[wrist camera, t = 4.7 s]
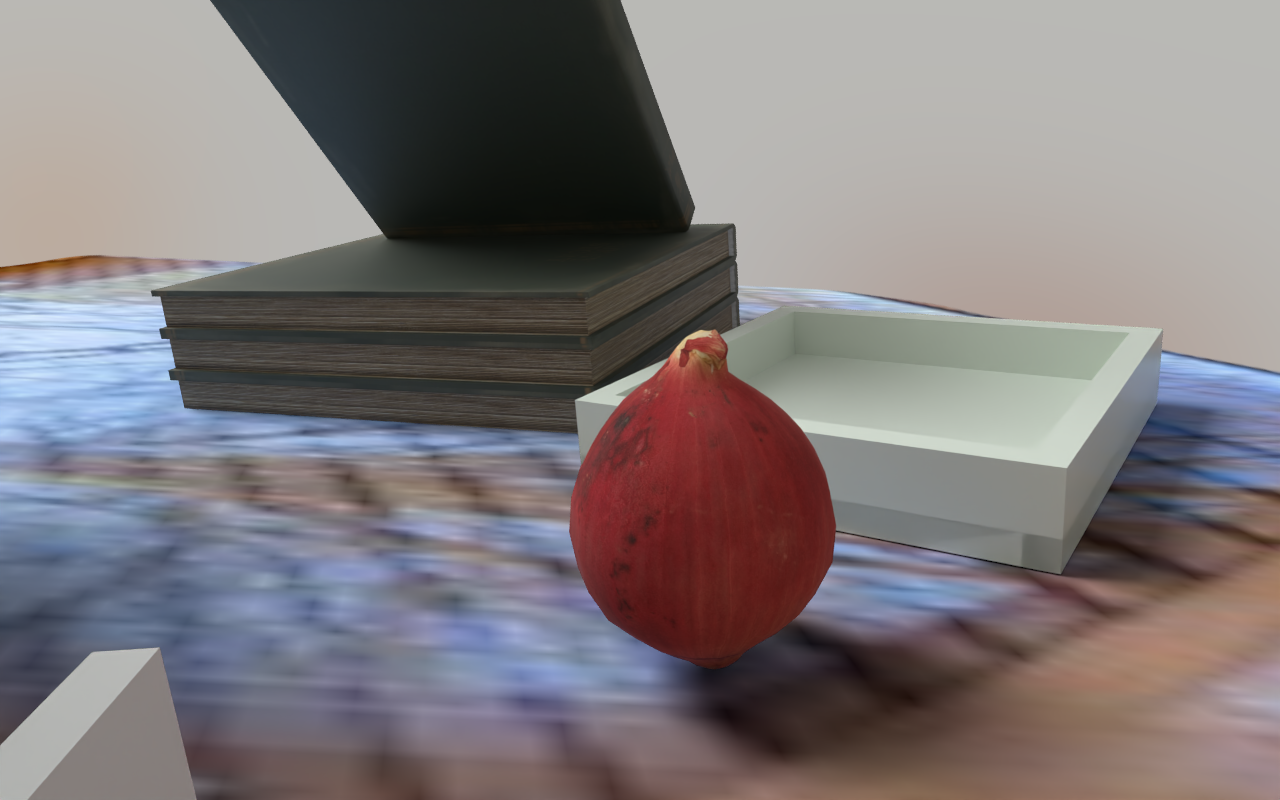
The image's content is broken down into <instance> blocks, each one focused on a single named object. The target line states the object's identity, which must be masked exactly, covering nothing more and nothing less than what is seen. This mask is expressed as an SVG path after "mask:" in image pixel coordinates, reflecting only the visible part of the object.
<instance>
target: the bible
mask: <svg viewBox="0 0 1280 800" xmlns="http://www.w3.org/2000/svg"><path fill="white" fill-rule="evenodd" d="M210 1H211V2H212V3H213V5H214V6H215V7H216V9H217V10H218V11H219V13H220V14H221V15H222V17H223V18H224V19H225V21H226V22H227V23H228V25H229V26H230V28H231V29H232V30H233V31H234V33H235V34H236V36H237V37H238V38H239V40H240V41H241V42H242V44H243V45H244V46H245V48H246V49H247V50H248V52H249V53H250V54H251V56H252V57H253V59H254V60H255V61H256V62H257V64H258V65H259V67H260V68H261V69H262V71H263V72H264V73H265V75H266V76H267V77H268V79H269V80H270V81H271V83H272V84H273V86H274V87H275V88H276V90H277V91H278V92H279V93H280V95H281V96H282V98H283V99H284V100H285V102H286V103H287V104H288V106H289V107H290V108H291V110H292V111H293V112H294V114H295V115H296V116H297V118H298V119H299V121H300V122H301V123H302V125H303V126H304V127H305V129H306V130H307V131H308V133H309V134H310V135H311V137H312V138H313V139H314V141H315V142H316V143H317V145H318V146H319V147H320V149H321V150H322V152H323V153H324V154H325V155H326V157H327V158H328V160H329V161H330V162H331V164H332V165H333V166H334V167H335V169H336V170H337V172H338V173H339V174H340V176H341V177H342V178H343V180H344V181H345V182H346V184H347V185H348V187H349V188H350V189H351V191H352V192H353V193H354V194H355V196H356V197H357V199H358V200H359V201H360V203H361V204H362V205H363V207H364V208H365V209H366V211H367V212H368V214H369V215H370V216H371V218H372V219H373V220H374V222H375V223H376V224H377V226H378V227H379V228H380V229H381V231H382V232H383V234H382V235H378V236H374V237H370V238H365V239H362V240H357V241H353V242H349V243H345V244H341V245H337V246H333V247H328V248H324V249H320V250H316V251H312V252H308V253H304V254H300V255H296V256H292V257H288V258H283V259H279V260H276V261H271V262H267V263H263V264H259V265H255V266H250V267H246V268H242V269H238V270H234V271H230V272H226V273H222V274H218V275H213V276H209V277H205V278H201V279H197V280H193V281H189V282H185V283H181V284H176V285H172V286H168V287H164V288H160V289H156V290H152V291H151V293H152V296H160V297H161V302H162V306H163V311H164V316H165V320H166V325H167V327H164V328H161V329H159V330H160V334H161V339H170V343H171V348H172V352H173V357H174V362H175V366H176V368H174V369H171V370H168V371H169V375H170V380H179V385H180V389H181V394H182V399H183V403H184V408H192V409H207V410H223V411H238V412H254V413H270V414H285V415H301V416H316V417H332V418H347V419H363V420H378V421H394V422H410V423H425V424H441V425H456V426H472V427H487V428H503V429H518V430H534V431H550V432H565V433H578V427H577V416H576V406H575V400H576V399H578V398H581V397H583V396H585V395H587V394H590V393H592V392H594V391H596V390H598V389H601V388H603V387H605V386H607V385H610V384H612V383H614V382H616V381H618V380H621V379H623V378H625V377H627V376H630V375H632V374H634V373H636V372H638V371H641V370H643V369H645V368H647V367H649V366H652V365H654V364H656V363H658V362H661V361H663V360H665V359H667V358H669V357H670V355H671V354H672V353H673V351H674V350H675V349H676V347H677V346H678V345H679V344H680V343H681V342H682V341H683V340H684V339H685V338H686V337H687V336H689V335H691V334H693V333H695V332H697V331H699V330H704V331H711V330H714V329H715V330H716V331H717V332H718V333H719V334H723V333H725V332H727V331H729V330H730V329H731V328H733V327H738V326H740V320H739V300H738V298H737V294H738V277H737V276H738V274H737V263H736V261H735V260H736V256H737V254H736V253H737V252H736V229H735V225H734V224H696V225H690V224H691V220H692V217H693V213H694V210H695V206H694V203H693V200H692V198H691V195H690V192H689V189H688V187H687V184H686V181H685V178H684V175H683V173H682V170H681V167H680V164H679V162H678V159H677V156H676V153H675V150H674V148H673V145H672V142H671V139H670V137H669V134H668V131H667V128H666V125H665V123H664V120H663V117H662V114H661V112H660V109H659V106H658V103H657V100H656V98H655V95H654V92H653V89H652V87H651V84H650V81H649V78H648V75H647V73H646V70H645V67H644V64H643V62H642V59H641V56H640V53H639V50H638V48H637V45H636V42H635V39H634V37H633V34H632V31H631V28H630V25H629V23H628V20H627V17H626V14H625V12H624V9H623V6H622V4H621V0H210Z"/></svg>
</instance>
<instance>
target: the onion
mask: <svg viewBox="0 0 1280 800" xmlns="http://www.w3.org/2000/svg"><path fill="white" fill-rule="evenodd" d="M727 346H728V345H727V344H726V342H725V341H724V340H723V338H722V337H721V336H720V334H719V333H718V332H717V331H716V330H715V329H714V330H711V331H704V330H699V331H697V332H695V333H693V334H691V335H689V336H687V337H686V338H685V339H684V340H683V341H682V342H681V343H680V344H679V345H678V346H677V347H676V349H675V350H674V351H673V353H672V354H671V355H670V357H669V358H668V360H667V361H666V362H665V364H664V365H663V366H662V367H661V368H660V369H659V370H658V371H657V372H656V373H655V374H654V375H653V376H652V377H651V378H650V379H648V380H647V381H645V382H644V383H643V384H641V385H640V386H638V387H637V388H636V389H635V390H634V391H633V392H631V393H630V394H629V395H628V396H627V397H626V398H624V399H623V401H622V402H621V403H620V404H619V405H618V407H617V408H616V409H615V410H614V411H613V413H612V414H611V415H610V417H609V418H608V420H607V421H606V422H605V424H604V425H603V427H602V428H601V430H600V431H599V433H598V435H597V436H596V438H595V440H594V441H593V443H592V445H591V447H590V449H589V451H588V453H587V455H586V457H585V459H584V461H583V463H582V465H581V468H580V470H579V473H578V477H577V480H576V484H575V487H574V490H573V494H572V497H571V512H570V529H569V533H570V537H571V541H572V545H573V549H574V553H575V557H576V561H577V565H578V569H579V571H580V573H581V576H582V578H583V580H584V583H585V585H586V587H587V590H588V592H589V594H590V595H591V596H592V598H593V599H594V601H595V602H596V603H597V605H598V606H599V608H600V609H601V610H602V612H603V613H604V615H605V616H606V618H607V619H608V620H609V621H610V622H612V623H613V624H615V625H616V626H618V627H619V628H621V629H622V630H624V631H625V632H627V633H628V634H630V635H631V636H633V637H634V638H636V639H638V640H640V641H642V642H644V643H645V644H647V645H649V646H651V647H653V648H655V649H657V650H658V651H661V652H663V653H666V654H669V655H671V656H674V657H677V658H680V659H683V660H687V661H690V662H691V663H693V664H695V665H697V666H701V667H704V668H708V669H719V668H724V667H727V666H729V665H731V664H733V663H734V662H736V661H737V660H738V659H739V658H740V657H741V655H742V654H743V653H745V652H746V651H747V650H749V649H750V648H752V647H753V646H755V645H757V644H758V643H760V642H762V641H764V640H765V639H767V638H769V637H771V636H772V635H774V634H776V633H777V632H778V631H780V630H781V629H782V628H783V627H785V626H786V625H787V624H788V623H790V622H791V621H792V620H793V619H795V618H796V617H797V616H798V615H799V614H800V613H801V612H802V610H803V609H804V608H805V607H806V605H807V604H808V603H809V601H810V600H811V599H812V598H813V596H814V595H815V593H816V592H817V590H818V588H819V586H820V584H821V582H822V580H823V579H824V577H825V575H826V573H827V571H828V569H829V567H830V566H831V564H832V560H833V551H834V542H835V533H836V521H835V516H834V511H833V505H832V500H831V495H830V490H829V485H828V481H827V477H826V473H825V470H824V468H823V466H822V464H821V462H820V459H819V457H818V455H817V453H816V451H815V448H814V447H813V445H812V444H811V442H810V441H809V439H808V438H807V436H806V435H805V433H804V432H803V430H802V429H801V428H800V427H799V426H798V425H797V423H796V422H795V421H794V420H793V419H792V418H791V417H790V416H789V415H788V414H787V413H786V412H785V411H784V410H783V409H782V408H780V407H779V406H778V405H777V404H776V403H775V402H774V401H772V400H771V399H770V398H768V397H767V396H765V395H764V394H763V393H761V392H760V391H758V390H757V389H755V388H754V387H752V386H750V385H749V384H747V383H745V382H743V381H742V380H740V379H739V378H737V377H736V376H734V375H733V374H731V373H730V372H728V366H727V359H726V357H727V353H728V347H727Z"/></svg>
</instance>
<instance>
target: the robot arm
mask: <svg viewBox="0 0 1280 800" xmlns="http://www.w3.org/2000/svg"><path fill="white" fill-rule="evenodd" d="M0 800H197V799H196V795H195V791H194V787H193V782H192V778H191V774H190V770H189V766H188V762H187V758H186V754H185V749H184V745H183V741H182V737H181V733H180V729H179V725H178V721H177V716H176V712H175V708H174V704H173V700H172V696H171V692H170V688H169V684H168V679H167V675H166V671H165V667H164V663H163V659H162V655H161V651H160V647H159V648H145V649H130V650H115V651H101V652H92V653H91V654H90V655H89V656H88V657H87V658H86V659H85V660H84V661H83V662H82V663H81V664H80V665H79V666H78V667H77V668H76V669H75V670H74V671H73V672H72V673H71V674H70V675H69V676H68V677H67V678H66V679H65V680H64V681H63V682H62V683H61V684H60V685H59V686H58V687H57V688H56V689H55V690H54V691H53V692H52V693H51V694H50V695H49V696H48V697H47V698H46V699H45V700H44V701H43V702H42V703H41V704H40V705H39V706H38V707H37V708H36V709H35V710H34V711H33V713H32V714H31V715H30V716H29V717H28V718H27V719H26V720H25V721H24V722H23V723H22V724H21V725H20V726H19V727H18V728H17V729H16V730H15V731H14V732H13V733H12V734H11V735H10V736H9V737H8V738H7V739H6V740H5V741H4V742H3V743H2V744H1V745H0Z"/></svg>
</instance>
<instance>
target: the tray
mask: <svg viewBox="0 0 1280 800" xmlns="http://www.w3.org/2000/svg"><path fill="white" fill-rule="evenodd" d="M720 336H721V337H722V338H723V340H724V341H725V342H726V344H727V345H728V346H727V347H728V353H727V357H726V359H727V366H728V372H730V373H731V374H733V375H734V376H736V377H737V378H739V379H740V380H742V381H743V382H745V383H747V384H749V385H750V386H752V387H754V388H755V389H757V390H758V391H760V392H761V393H763V394H764V395H765V396H767V397H768V398H770V399H771V400H772V401H774V402H775V403H776V404H777V405H778V406H779V407H780V408H782V409H783V410H784V411H785V412H786V413H787V414H788V415H789V416H790V417H791V418H792V419H793V420H794V421H795V422H796V423H797V425H798V426H799V427H800V428H801V429H802V430H803V432H804V433H805V435H806V436H807V438H808V439H809V441H810V442H811V444H812V445H813V447H814V448H815V451H816V453H817V455H818V457H819V459H820V462H821V464H822V466H823V468H824V470H825V473H826V477H827V481H828V485H829V490H830V495H831V500H832V505H833V511H834V516H835V521H836V530H837V531H842V532H847V533H852V534H857V535H862V536H867V537H872V538H877V539H883V540H888V541H893V542H898V543H903V544H908V545H913V546H918V547H923V548H928V549H934V550H939V551H944V552H949V553H954V554H959V555H964V556H969V557H974V558H979V559H985V560H990V561H995V562H1000V563H1005V564H1010V565H1015V566H1020V567H1025V568H1030V569H1036V570H1041V571H1046V572H1051V573H1056V574H1061V573H1062V571H1063V569H1064V568H1065V566H1066V564H1067V562H1068V561H1069V559H1070V557H1071V555H1072V553H1073V552H1074V550H1075V548H1076V546H1077V545H1078V543H1079V541H1080V539H1081V537H1082V536H1083V534H1084V532H1085V530H1086V529H1087V527H1088V525H1089V523H1090V522H1091V520H1092V518H1093V516H1094V514H1095V513H1096V511H1097V509H1098V507H1099V506H1100V504H1101V502H1102V500H1103V498H1104V497H1105V495H1106V493H1107V491H1108V490H1109V488H1110V486H1111V484H1112V483H1113V481H1114V479H1115V477H1116V475H1117V474H1118V472H1119V470H1120V468H1121V467H1122V465H1123V463H1124V461H1125V459H1126V458H1127V456H1128V454H1129V452H1130V451H1131V449H1132V447H1133V445H1134V444H1135V442H1136V440H1137V438H1138V436H1139V435H1140V433H1141V431H1142V429H1143V428H1144V426H1145V424H1146V422H1147V420H1148V419H1149V417H1150V415H1151V413H1152V412H1153V410H1154V408H1155V406H1156V405H1157V397H1158V385H1159V374H1160V362H1161V350H1162V337H1163V329H1159V328H1144V327H1127V326H1110V325H1094V324H1077V323H1060V322H1045V321H1027V320H1011V319H995V318H978V317H962V316H945V315H929V314H912V313H896V312H879V311H863V310H846V309H830V308H813V307H796V306H783V307H780V308H778V309H776V310H774V311H771V312H769V313H767V314H765V315H763V316H760V317H758V318H756V319H754V320H752V321H749V322H747V323H745V324H743V325H740V326H738V327H736V328H734V329H732V330H729V331H727V332H725V333H723V334H720ZM667 360H668V358H667V359H665V360H663V361H661V362H658V363H656V364H654V365H652V366H649V367H647V368H645V369H643V370H641V371H638V372H636V373H634V374H632V375H630V376H627V377H625V378H623V379H621V380H618V381H616V382H614V383H612V384H610V385H607V386H605V387H603V388H601V389H598V390H596V391H594V392H592V393H590V394H587V395H585V396H583V397H581V398H578V399H576V400H575V406H576V416H577V427H578V437H579V448H580V458H581V465H582V463H583V461H584V459H585V457H586V455H587V453H588V451H589V449H590V447H591V445H592V443H593V441H594V440H595V438H596V436H597V435H598V433H599V431H600V430H601V428H602V427H603V425H604V424H605V422H606V421H607V420H608V418H609V417H610V415H611V414H612V413H613V411H614V410H615V409H616V408H617V407H618V405H619V404H620V403H621V402H622V401H623V399H624V398H626V397H627V396H628V395H629V394H630V393H631V392H633V391H634V390H635V389H636V388H637V387H638V386H640V385H641V384H643V383H644V382H645V381H647V380H648V379H650V378H651V377H652V376H653V375H654V374H655V373H656V372H657V371H658V370H659V369H660V368H661V367H662V366H663V365H664V364H665V362H666V361H667Z"/></svg>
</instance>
